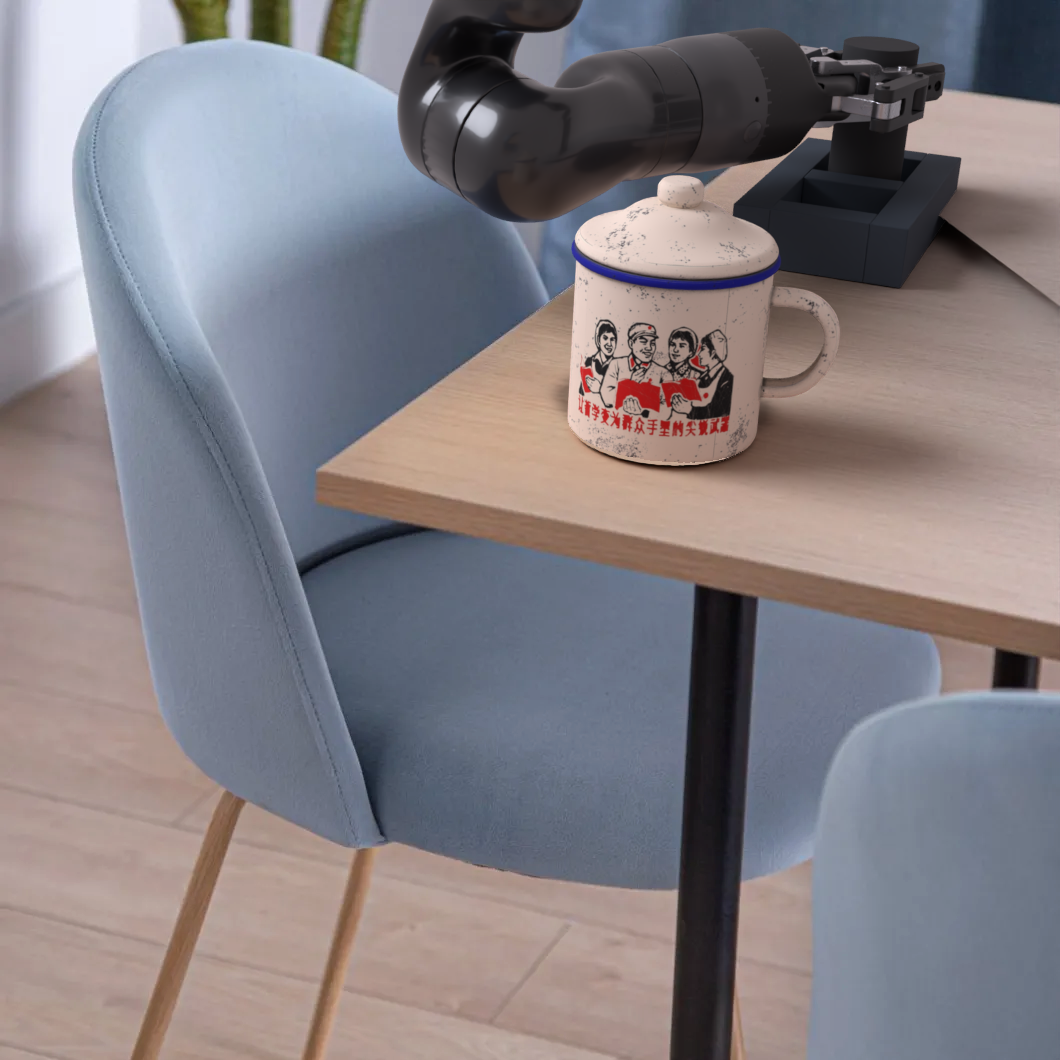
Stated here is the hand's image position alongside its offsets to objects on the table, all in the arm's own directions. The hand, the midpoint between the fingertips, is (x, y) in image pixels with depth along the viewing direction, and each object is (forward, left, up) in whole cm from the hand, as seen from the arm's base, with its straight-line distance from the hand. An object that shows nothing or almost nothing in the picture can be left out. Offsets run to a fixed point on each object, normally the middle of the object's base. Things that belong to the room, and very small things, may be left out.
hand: (904, 72), depth 111 cm
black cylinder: (+2, +1, -9) cm, 9 cm away
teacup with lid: (+22, +35, -9) cm, 42 cm away
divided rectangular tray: (+4, +5, -9) cm, 11 cm away
